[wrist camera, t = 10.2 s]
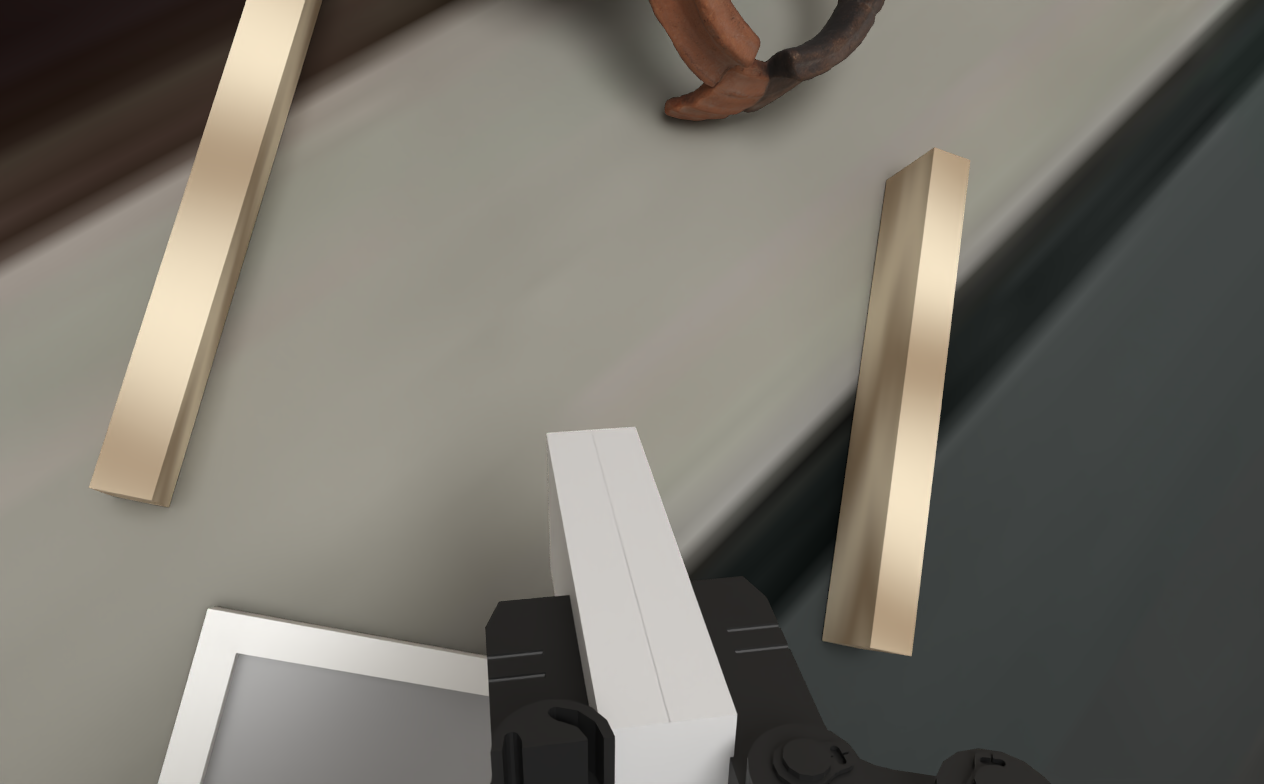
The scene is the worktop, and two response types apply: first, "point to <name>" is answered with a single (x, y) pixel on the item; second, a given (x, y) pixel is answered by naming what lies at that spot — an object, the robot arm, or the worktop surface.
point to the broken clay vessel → (750, 54)
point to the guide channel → (888, 381)
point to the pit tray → (327, 708)
